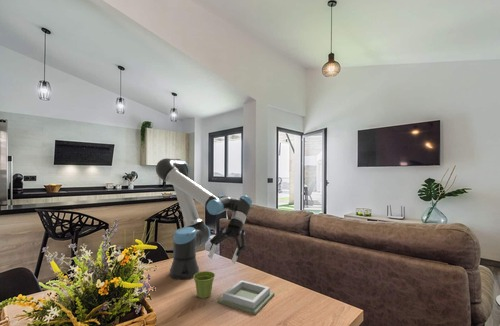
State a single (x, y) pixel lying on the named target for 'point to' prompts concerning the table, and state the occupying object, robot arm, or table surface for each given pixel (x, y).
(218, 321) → the table surface
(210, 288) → the plant pot
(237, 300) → the grey green square tray
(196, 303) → the table surface
